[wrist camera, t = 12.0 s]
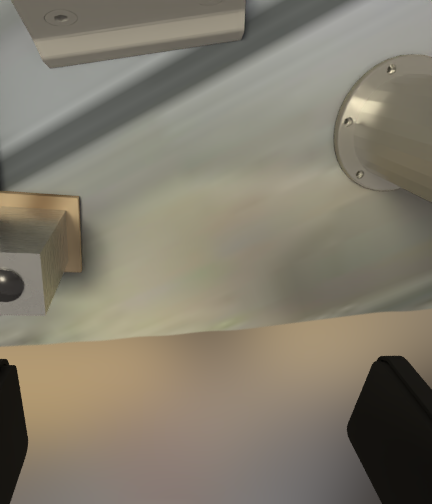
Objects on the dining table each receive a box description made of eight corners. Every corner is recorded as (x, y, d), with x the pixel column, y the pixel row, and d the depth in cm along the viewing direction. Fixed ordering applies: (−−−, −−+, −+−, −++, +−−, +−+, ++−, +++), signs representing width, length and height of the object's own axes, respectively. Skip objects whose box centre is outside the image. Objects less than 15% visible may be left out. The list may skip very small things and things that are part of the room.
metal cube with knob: (65, 210, 34) (39, 255, 26) (68, 261, 37) (45, 316, 29) (1, 206, 33) (-47, 251, 25) (8, 259, 36) (-33, 316, 28)
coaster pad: (79, 196, 35) (78, 198, 34) (82, 269, 38) (81, 272, 38) (-14, 189, 33) (-17, 191, 33) (-2, 266, 37) (-5, 269, 36)
